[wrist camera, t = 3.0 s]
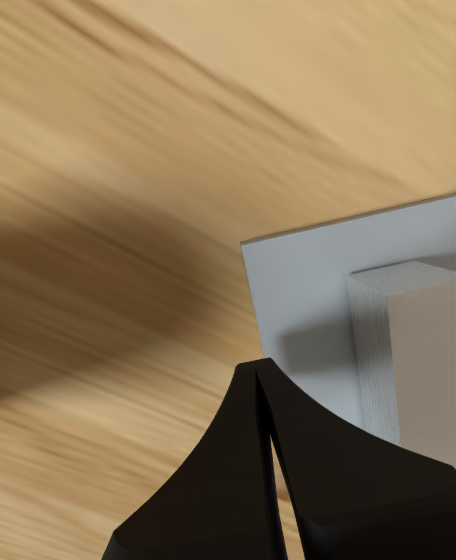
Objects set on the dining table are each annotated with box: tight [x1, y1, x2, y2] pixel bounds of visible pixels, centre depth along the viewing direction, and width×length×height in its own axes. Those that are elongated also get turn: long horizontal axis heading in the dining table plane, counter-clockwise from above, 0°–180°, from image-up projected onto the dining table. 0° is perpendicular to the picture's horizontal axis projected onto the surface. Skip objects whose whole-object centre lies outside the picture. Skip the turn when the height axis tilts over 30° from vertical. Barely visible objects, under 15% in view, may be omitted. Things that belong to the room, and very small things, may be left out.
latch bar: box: [346, 261, 456, 469], centre depth 11 cm, size 12×4×3 cm, turn 13°
